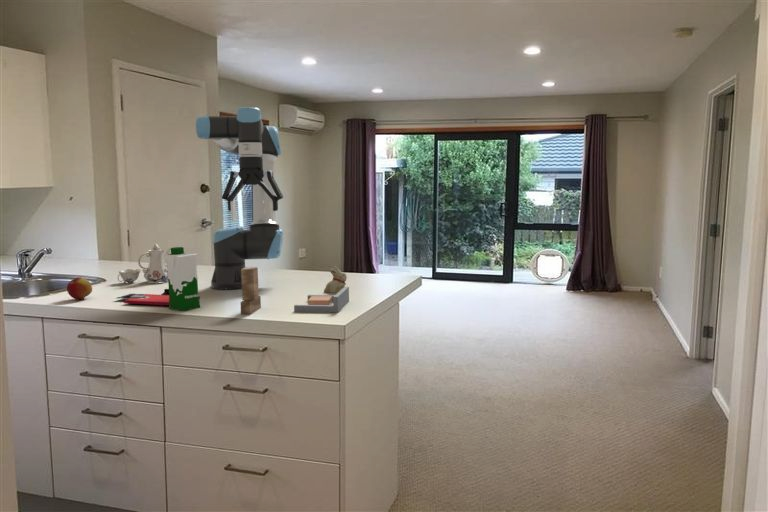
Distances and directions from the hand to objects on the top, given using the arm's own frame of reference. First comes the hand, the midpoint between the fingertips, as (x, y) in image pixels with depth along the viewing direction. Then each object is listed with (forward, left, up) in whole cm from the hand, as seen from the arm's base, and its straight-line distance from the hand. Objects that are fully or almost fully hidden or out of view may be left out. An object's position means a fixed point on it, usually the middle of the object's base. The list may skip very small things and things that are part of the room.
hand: (253, 220), depth 201 cm
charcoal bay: (+23, -1, -28) cm, 36 cm away
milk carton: (-22, -8, -29) cm, 37 cm away
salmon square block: (+22, -1, -29) cm, 36 cm away
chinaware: (-60, +43, -29) cm, 79 cm away
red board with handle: (-37, +2, -28) cm, 47 cm away
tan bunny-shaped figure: (+22, +25, -29) cm, 44 cm away
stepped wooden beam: (+2, -10, -28) cm, 30 cm away
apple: (-67, +4, -29) cm, 73 cm away
